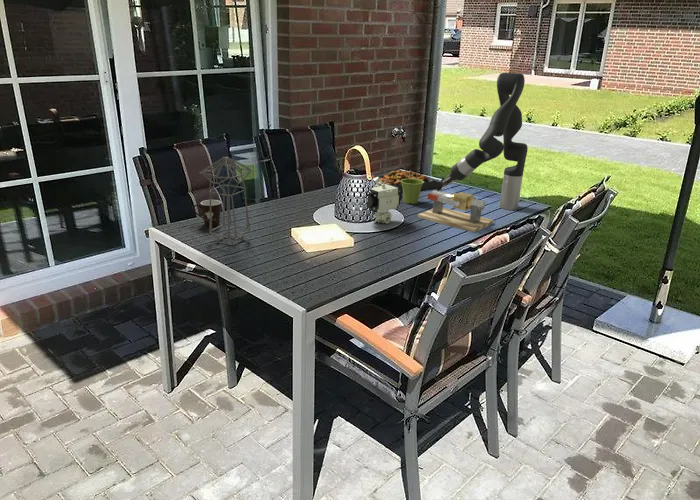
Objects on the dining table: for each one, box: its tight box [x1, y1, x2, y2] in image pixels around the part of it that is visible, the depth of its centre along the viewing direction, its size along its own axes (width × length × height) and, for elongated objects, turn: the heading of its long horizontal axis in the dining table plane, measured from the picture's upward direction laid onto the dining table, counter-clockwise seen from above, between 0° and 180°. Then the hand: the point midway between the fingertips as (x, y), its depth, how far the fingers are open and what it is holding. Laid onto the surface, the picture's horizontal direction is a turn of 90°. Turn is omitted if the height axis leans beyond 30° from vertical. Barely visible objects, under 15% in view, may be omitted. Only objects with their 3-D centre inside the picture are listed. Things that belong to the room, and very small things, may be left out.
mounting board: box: [417, 207, 494, 233], centre depth 259 cm, size 18×30×2 cm, turn 50°
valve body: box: [431, 189, 486, 224], centre depth 256 cm, size 8×26×12 cm, turn 50°
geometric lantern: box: [199, 156, 253, 246], centre depth 217 cm, size 16×16×35 cm
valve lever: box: [427, 192, 460, 207], centre depth 254 cm, size 2×3×16 cm
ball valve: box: [367, 184, 403, 224], centre depth 250 cm, size 18×8×18 cm, turn 127°
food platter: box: [361, 167, 441, 193], centre depth 313 cm, size 45×25×10 cm, turn 117°
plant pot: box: [401, 179, 424, 205], centre depth 283 cm, size 12×12×11 cm
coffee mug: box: [192, 199, 222, 228], centre depth 241 cm, size 12×9×10 cm
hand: (437, 189), depth 254 cm, fingers closed
